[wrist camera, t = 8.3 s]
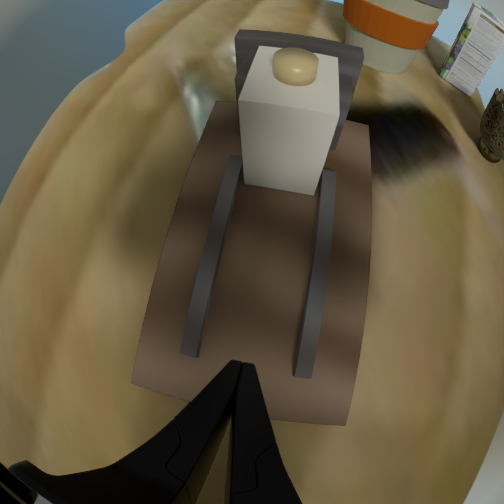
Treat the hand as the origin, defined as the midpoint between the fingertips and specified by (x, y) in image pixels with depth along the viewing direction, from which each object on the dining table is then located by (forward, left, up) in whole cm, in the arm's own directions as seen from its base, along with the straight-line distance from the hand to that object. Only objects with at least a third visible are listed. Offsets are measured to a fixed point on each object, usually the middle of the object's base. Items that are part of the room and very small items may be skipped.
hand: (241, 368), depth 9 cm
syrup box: (+39, -24, -9) cm, 47 cm away
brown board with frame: (+8, 0, -8) cm, 12 cm away
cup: (+24, -24, -9) cm, 35 cm away
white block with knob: (+15, 0, -7) cm, 16 cm away
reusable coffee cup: (+37, -10, -9) cm, 40 cm away
